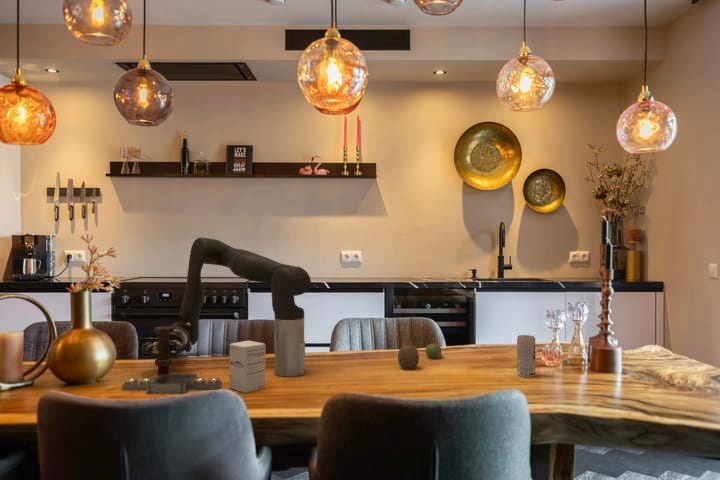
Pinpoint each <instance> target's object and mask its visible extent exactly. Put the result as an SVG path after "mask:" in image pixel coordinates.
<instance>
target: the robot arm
mask: <svg viewBox="0 0 720 480" xmlns="http://www.w3.org/2000/svg"><path fill="white" fill-rule="evenodd" d="M204 264H205V265H212V266H213V265H214V266H220V267H226V268H228V269H229V270H230V272H232V273H233V274H234V275H235V276H237V277H238V278H242V279H244V280H247V281H251V282H256V283H264V284H271V286H270V287H271V291H270V292H271V307H272V311H273V314H274V375H276V376H279V377H297V376H304V375H305V372H306V342H305V309H304V308H303V307H299V306H298V305H297V304H296V302H295V296H297V297H298V296H302V295H304V294H305V293H307V291H308V290H309V289H310V287H311V284H312V283H311V282H312V281H311V276H310V275H309V273H308V272H307V270H305V269H304V268H303V267H300V266H295V265H289V264H285V263H281V262H278V261H276V260H274V259H271V258H268V257H266V256H264V255H260V254H258V253H255V252H253V251H252V252H251V251H249V250H245V249H241V248H235V247H232V246H231V245H229V244H227V243H225V242H223V241H221V240H219V239H214V238H208V237H207V238H206V237H198V238H196V239H195V240H194V241H193V243H192V245H191V248H190V253H189V258H188V267H187V277H186V286H185V291H184V296H183V298H182V302H181V306H180V309H179V316H180V318H182V319H184V320H186V321H188V323H189V324H186V323H182V322H176V321H175V322H174V323H172V324H171V326H170V327H173V328H174V332H172V333H170V334H169V357H171V356H173V357H174V356H176V355H180V354H183V353H184V351H185V353H190V352H191V351H192V348H193V346H194V345H195V344H196V343H197V342H198V340H199V335H200V329H199V322H200V315H201V310H202V309H203V308H202V307H203V304H204V299H205V293H204V291H205V290H204V289H203V288H204V286H203V285H202V279H201V277H202V274H201V273H202V269H203V266H204ZM158 344H159V343H158V341H154V342H153V343H152V341H147V342H145V343H143V344H142V345H141V349H142V350H141V353H142V354H144V355H145V356H150V355H151V354H156V355H158Z"/></svg>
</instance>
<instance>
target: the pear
mask: <svg viewBox="0 0 720 480" xmlns="http://www.w3.org/2000/svg"><path fill="white" fill-rule="evenodd" d="M441 354H442V347H441V346H440V345H439V344H438V343H430V344H428V345H426V347H425V355H426V356H427V357H428V358H429V359H431V358H436V359H438V358H439V357H440V356H441Z"/></svg>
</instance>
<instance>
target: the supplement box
mask: <svg viewBox="0 0 720 480" xmlns="http://www.w3.org/2000/svg"><path fill="white" fill-rule="evenodd" d="M228 363H229V367H228V368H229V369H228V370H229V372H228V374H229V375H228V376H229V377H228V378H229V379H228V380H229V382H228V383H229V384H228V387H229V389H230V390H231V389H232V390H236V391H239V392H242V393H244V394H247V393H250V392H251V393H252V392H255V391H258V390H262V389H265V388H266V343H264V342H259V341H254V340H244V341H237V342H233V343H229V362H228Z"/></svg>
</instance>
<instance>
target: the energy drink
mask: <svg viewBox="0 0 720 480" xmlns="http://www.w3.org/2000/svg"><path fill="white" fill-rule="evenodd" d="M516 351H517V352H516V369H517V370H516V372H517V373H516V374H517V376H519V377H521V378H530V379H531V378H534V377H535V376H536V337H535V336H534V335H530V334H529V335H528V334H521V335H517V338H516Z"/></svg>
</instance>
